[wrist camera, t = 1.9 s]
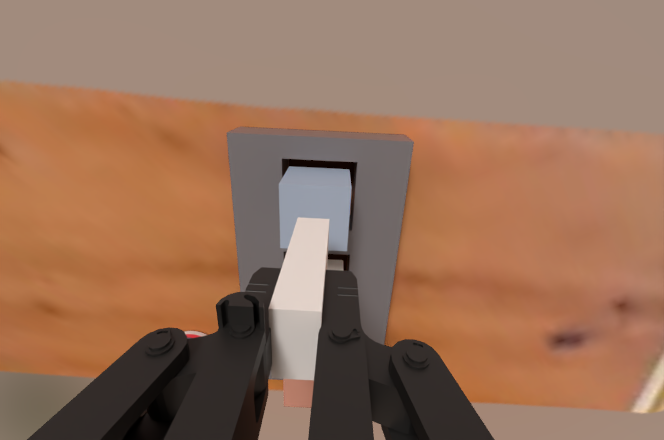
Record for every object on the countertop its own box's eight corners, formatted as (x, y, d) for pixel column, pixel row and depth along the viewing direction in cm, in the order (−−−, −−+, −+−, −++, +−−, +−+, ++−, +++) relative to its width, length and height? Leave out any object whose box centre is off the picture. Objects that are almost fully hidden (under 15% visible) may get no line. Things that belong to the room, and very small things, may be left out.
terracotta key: (291, 364, 28) (284, 406, 24) (290, 329, 26) (283, 369, 23) (335, 366, 28) (335, 409, 24) (338, 331, 26) (338, 371, 23)
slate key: (289, 221, 22) (280, 248, 19) (289, 166, 21) (278, 183, 17) (345, 223, 22) (346, 251, 19) (349, 169, 21) (351, 187, 17)
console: (255, 352, 32) (248, 378, 29) (240, 126, 23) (226, 132, 20) (374, 358, 32) (378, 384, 29) (404, 134, 23) (413, 141, 20)
